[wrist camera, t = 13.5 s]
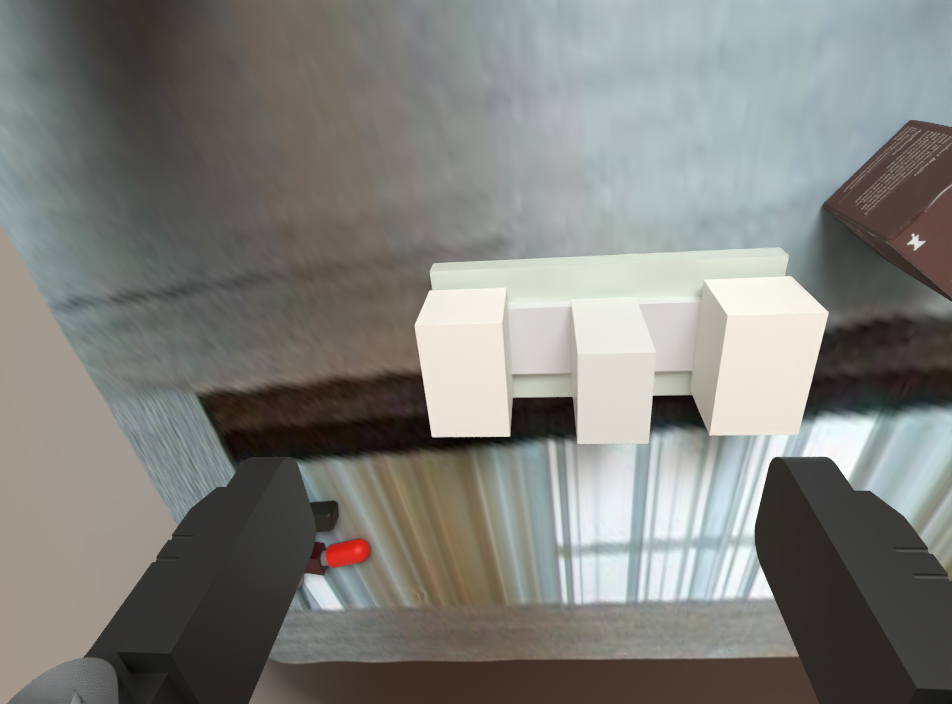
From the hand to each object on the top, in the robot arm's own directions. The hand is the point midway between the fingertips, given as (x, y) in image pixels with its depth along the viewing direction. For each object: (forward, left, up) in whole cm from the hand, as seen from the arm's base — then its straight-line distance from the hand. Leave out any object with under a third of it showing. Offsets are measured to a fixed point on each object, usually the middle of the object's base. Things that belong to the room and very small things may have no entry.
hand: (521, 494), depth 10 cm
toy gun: (-21, -33, -28) cm, 49 cm away
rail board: (+4, -11, -28) cm, 30 cm away
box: (+21, -3, -28) cm, 35 cm away
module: (+4, -11, -26) cm, 28 cm away
